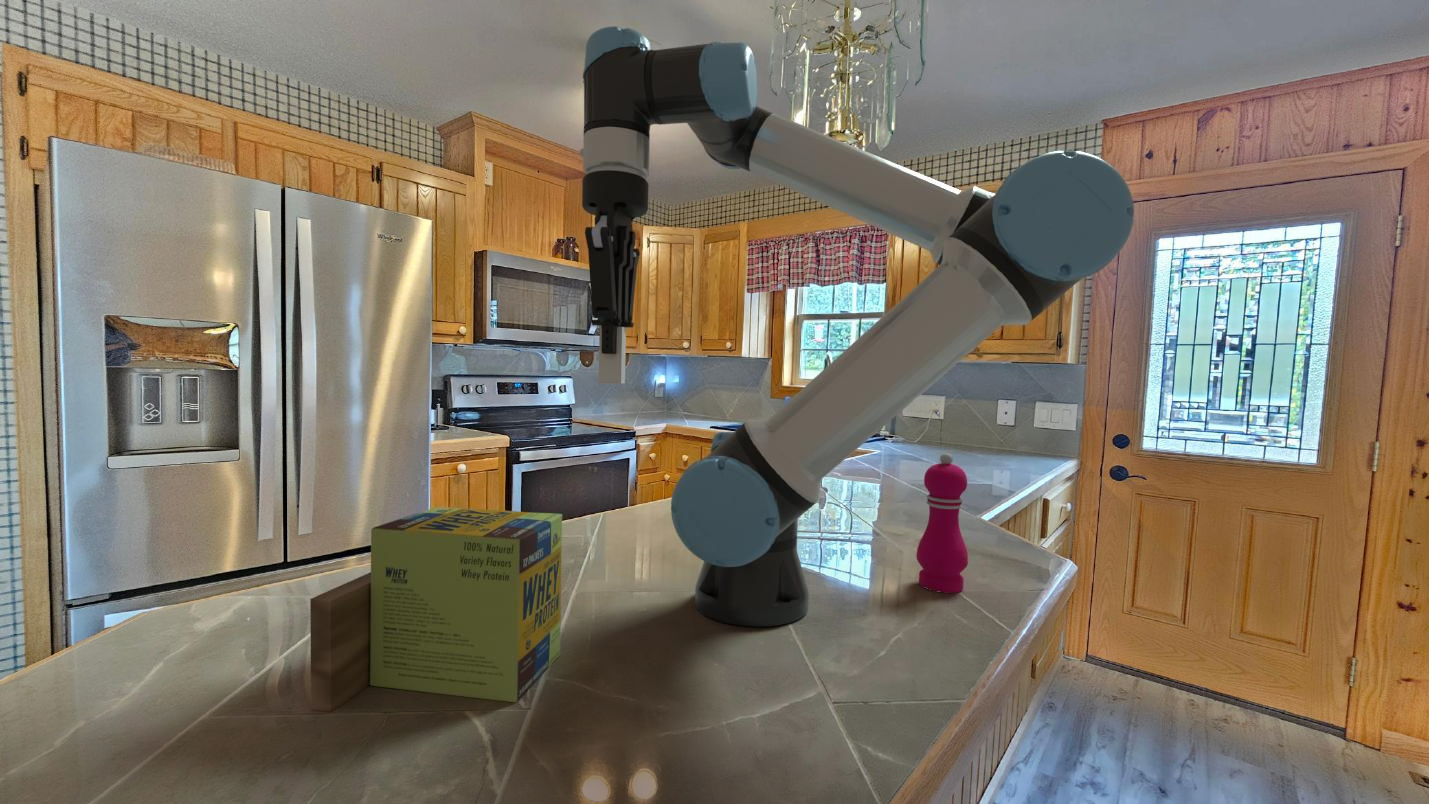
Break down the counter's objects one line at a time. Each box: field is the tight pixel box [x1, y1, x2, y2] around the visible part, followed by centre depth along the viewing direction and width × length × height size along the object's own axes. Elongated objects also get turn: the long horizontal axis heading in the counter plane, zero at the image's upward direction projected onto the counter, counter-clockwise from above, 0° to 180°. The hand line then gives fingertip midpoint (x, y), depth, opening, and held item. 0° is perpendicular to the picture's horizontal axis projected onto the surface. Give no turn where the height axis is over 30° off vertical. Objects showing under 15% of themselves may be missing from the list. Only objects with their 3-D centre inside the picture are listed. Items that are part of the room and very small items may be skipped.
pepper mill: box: [916, 452, 969, 594], centre depth 93 cm, size 7×7×20 cm
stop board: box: [309, 571, 371, 713], centre depth 65 cm, size 2×20×10 cm, turn 171°
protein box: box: [369, 506, 563, 703], centre depth 63 cm, size 10×15×16 cm
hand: (611, 382), depth 73 cm, fingers closed
